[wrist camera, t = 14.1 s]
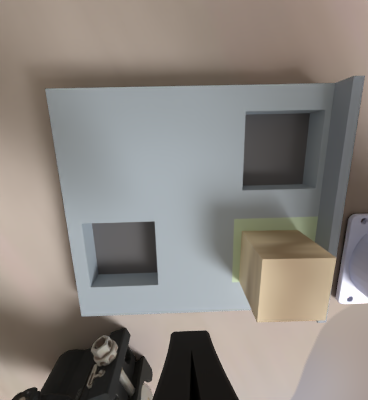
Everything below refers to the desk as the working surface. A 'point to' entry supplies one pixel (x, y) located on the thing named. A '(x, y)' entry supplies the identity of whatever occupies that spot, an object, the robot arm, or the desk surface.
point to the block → (285, 276)
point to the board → (195, 184)
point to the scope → (97, 373)
